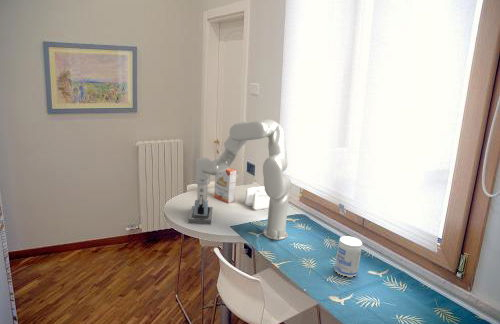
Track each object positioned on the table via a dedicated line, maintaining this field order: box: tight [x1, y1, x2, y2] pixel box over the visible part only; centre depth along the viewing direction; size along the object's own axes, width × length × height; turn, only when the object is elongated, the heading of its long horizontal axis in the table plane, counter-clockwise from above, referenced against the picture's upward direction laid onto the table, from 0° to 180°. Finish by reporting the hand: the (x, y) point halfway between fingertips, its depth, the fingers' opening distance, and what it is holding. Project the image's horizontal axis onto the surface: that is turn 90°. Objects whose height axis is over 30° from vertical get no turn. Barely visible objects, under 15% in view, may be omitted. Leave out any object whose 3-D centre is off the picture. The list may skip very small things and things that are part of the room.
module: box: [193, 199, 209, 216], centre depth 204 cm, size 5×7×7 cm
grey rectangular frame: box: [187, 205, 213, 225], centre depth 205 cm, size 20×12×2 cm, turn 3°
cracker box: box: [213, 167, 238, 204], centre depth 234 cm, size 14×6×21 cm, turn 45°
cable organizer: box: [244, 185, 270, 211], centre depth 227 cm, size 15×11×12 cm
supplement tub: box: [334, 235, 363, 278], centre depth 156 cm, size 10×10×15 cm
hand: (201, 211), depth 205 cm, fingers closed on module, 5 cm apart
